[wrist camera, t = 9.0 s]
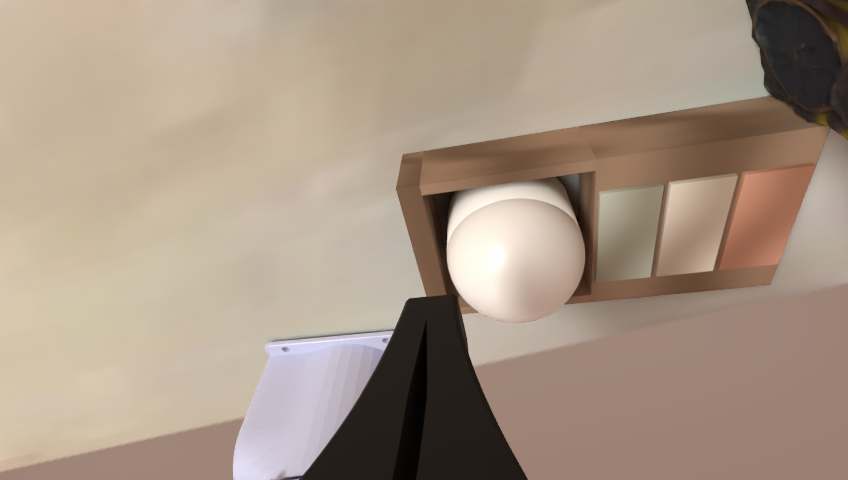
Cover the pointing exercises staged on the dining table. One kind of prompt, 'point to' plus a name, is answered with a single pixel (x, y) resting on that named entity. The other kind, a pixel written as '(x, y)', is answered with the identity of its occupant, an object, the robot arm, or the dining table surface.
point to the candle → (805, 56)
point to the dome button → (515, 249)
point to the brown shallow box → (643, 195)
